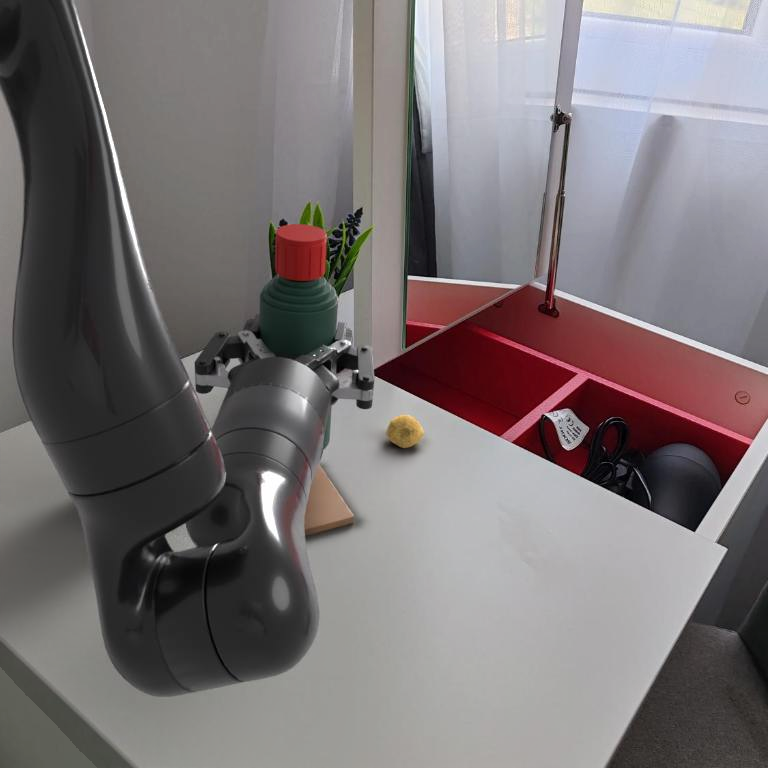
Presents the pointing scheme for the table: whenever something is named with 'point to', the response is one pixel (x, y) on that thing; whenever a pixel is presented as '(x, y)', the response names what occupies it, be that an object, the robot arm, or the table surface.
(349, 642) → the table surface
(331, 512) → the plate
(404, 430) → the rock
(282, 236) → the cap
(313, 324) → the bottle
